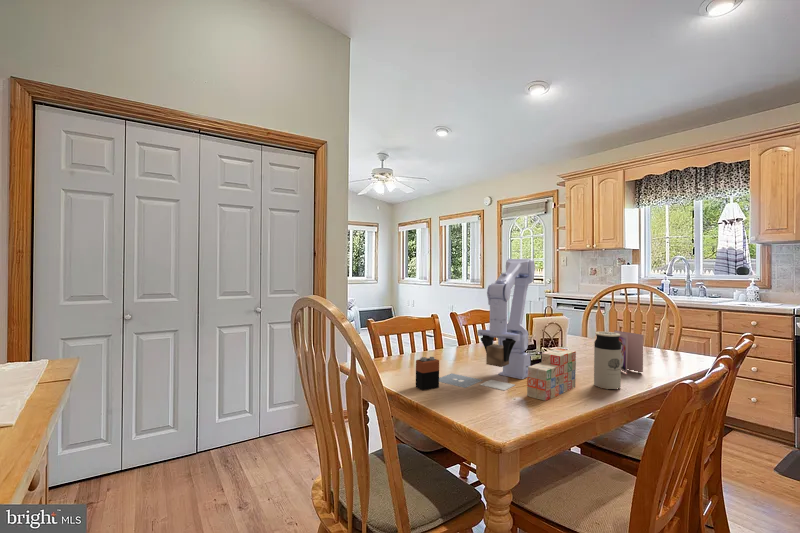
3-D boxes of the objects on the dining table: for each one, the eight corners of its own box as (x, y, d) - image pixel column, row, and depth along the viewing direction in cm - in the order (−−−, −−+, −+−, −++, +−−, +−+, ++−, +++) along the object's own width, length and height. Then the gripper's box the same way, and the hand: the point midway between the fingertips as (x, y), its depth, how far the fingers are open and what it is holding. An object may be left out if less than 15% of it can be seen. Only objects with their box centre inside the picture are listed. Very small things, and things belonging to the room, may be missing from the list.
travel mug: (590, 382, 140) (591, 330, 140) (615, 383, 139) (615, 331, 139) (598, 389, 132) (599, 334, 132) (624, 391, 131) (625, 335, 131)
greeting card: (611, 367, 161) (612, 330, 161) (631, 368, 160) (631, 330, 160) (624, 375, 150) (625, 335, 150) (645, 376, 149) (646, 335, 149)
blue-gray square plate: (483, 380, 141) (483, 380, 141) (465, 388, 132) (465, 387, 132) (451, 373, 149) (451, 373, 149) (432, 380, 140) (432, 380, 140)
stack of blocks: (545, 401, 120) (546, 360, 120) (526, 396, 124) (527, 356, 124) (575, 387, 135) (576, 350, 135) (557, 383, 139) (557, 347, 139)
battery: (415, 387, 132) (415, 357, 132) (431, 384, 136) (432, 354, 136) (422, 391, 128) (422, 359, 128) (439, 387, 132) (439, 357, 132)
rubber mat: (515, 385, 135) (515, 384, 135) (504, 391, 129) (504, 390, 129) (491, 380, 141) (491, 379, 141) (479, 385, 135) (479, 384, 135)
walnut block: (508, 364, 135) (509, 346, 135) (501, 367, 131) (501, 348, 131) (494, 361, 139) (494, 344, 139) (486, 364, 135) (486, 346, 135)
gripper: (473, 318, 137) (472, 358, 137) (513, 322, 127) (512, 365, 127) (483, 316, 142) (483, 354, 142) (522, 320, 133) (522, 361, 133)
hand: (497, 359), depth 135 cm, fingers closed on walnut block, 5 cm apart
